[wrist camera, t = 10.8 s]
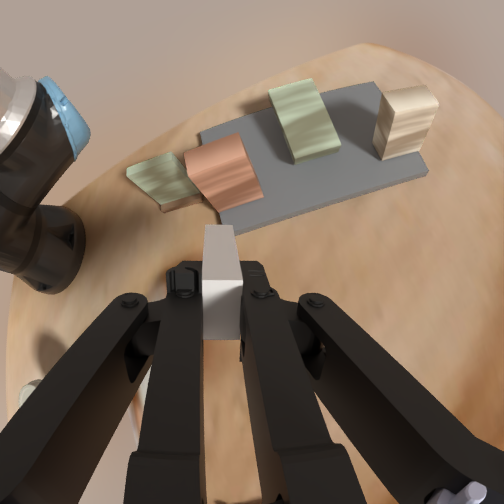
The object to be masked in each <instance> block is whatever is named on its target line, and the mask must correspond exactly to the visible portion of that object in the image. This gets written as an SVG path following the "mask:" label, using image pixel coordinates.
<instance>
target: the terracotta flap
mask: <svg viewBox="0 0 504 504" xmlns="http://www.w3.org/2000/svg"><path fill="white" fill-rule="evenodd" d="M184 158H185V163H186V168H187V174H188V177H189V178H190V179H191V180H192V182H193V183H194V184H195V185H196V186H197V187H198V189H199V190H200V191H201V192H202V193H203V195H204V196H205V197H206V198H207V199H208V201H209V202H210V203H211V204H212V205H213V207H214V208H215V209H216V210H217V211H218V213H219V212H222V211H225V210H228V209H231V208H234V207H236V206H239V205H242V204H245V203H248V202H251V201H254V200H257V199H260V198H263V197H264V196H263V192H262V189H261V186H260V183H259V180H258V177H257V175H256V172H255V170H254V168H253V165H252V163H251V160H250V158H249V156H248V153H247V151H246V149H245V146H244V144H243V142H242V139H241V137H240V135H239V132H237V133H234V134H232V135H229V136H226V137H223V138H221V139H218V140H215V141H213V142H210V143H207V144H205V145H202V146H200V147H197V148H194V149H192V150H189V151H187V152H184Z"/></svg>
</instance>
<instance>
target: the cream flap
mask: <svg viewBox="0 0 504 504" xmlns="http://www.w3.org/2000/svg"><path fill="white" fill-rule="evenodd" d="M438 106H439V102H438V101H437V100H436V98H435V97H434V96H433V94H432V93H431V92H430V90H429V89H428V88H427V86H426V85H421V86H415V87H409V88H403V89H397V90H392V91H387V92H382V95H381V100H380V106H379V111H378V116H377V121H376V126H375V131H374V136H373V141H372V143H373V145H374V147H375V149H376V151H377V153H378V155H379V157H380V158H381V160H382V161H383V160H387V159H390V158H394V157H398V156H401V155H405V154H409V153H413V152H416V151H419V150H420V148H421V146H422V144H423V141H424V139H425V137H426V135H427V132H428V130H429V128H430V125H431V123H432V121H433V118H434V116H435V113H436V111H437V109H438Z"/></svg>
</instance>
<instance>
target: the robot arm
mask: <svg viewBox="0 0 504 504" xmlns="http://www.w3.org/2000/svg"><path fill="white" fill-rule="evenodd" d="M89 139H90V129H89V127H88V125H87V124H86V122H85V121H84V119H83V118H82V117H81V115H80V114H79V113H78V111H77V110H76V109H75V107H74V106H73V105H72V103H71V102H70V101H69V100H68V99H67V97H66V96H65V95H64V94H63V92H62V91H61V90H60V88H59V87H58V86H57V85H56V83H55V82H54V81H53V80H52V79H51V78H50V77H48V76H45V77H44V78H42V79H40V80H39V81H38V82H36V81H35V80H34V79H33V78H32V77H30V76H23V77H19V78H16V79H13V78H12V77H11V76H10V75H9V74H7V73H6V72H5V71H4V70H3V69H2V68H0V270H1V271H5V272H8V273H11V274H14V275H16V276H17V277H19V278H20V279H21V280H22V281H24V282H25V283H26V284H28V285H29V286H30V287H31V288H33V289H34V290H36V291H38V292H41V293H45V294H57V293H59V292H61V291H63V290H64V289H65V288H67V287H68V286H69V284H70V283H71V282H72V281H73V279H74V278H75V276H76V274H77V272H78V270H79V268H80V265H81V263H82V259H83V255H84V250H85V231H84V226H83V223H82V221H81V219H80V217H79V216H78V215H77V214H76V213H74V212H73V211H71V210H69V209H67V208H65V207H62V206H52V205H39V204H40V203H41V201H42V200H43V199H44V197H45V196H46V195H47V193H48V192H49V191H50V190H51V188H52V187H53V186H54V184H55V183H56V182H57V181H58V180H59V178H60V177H61V176H62V175H63V174H64V172H65V171H66V170H67V169H68V168H69V166H70V165H71V164H72V163H73V162H74V161H76V159H77V156H78V155H79V153H80V152H81V151H82V150H83V148H84V147H85V146H86V145H87V144H88V142H89ZM166 282H167V296H166V298H164V299H162V300H160V301H155V302H149V303H148V301H147V298H146V297H145V296H144V295H142V294H138V293H125V294H122V295H120V296H118V297H116V298H115V299H114V300H113V301H112V302H111V303H110V304H109V305H108V306H107V307H106V308H105V309H104V311H103V312H102V313H101V314H100V315H99V316H98V317H97V318H96V319H95V320H94V321H93V322H92V324H91V325H90V326H89V327H88V328H87V329H86V330H85V331H84V332H83V333H82V335H81V336H80V337H79V338H78V339H77V340H76V341H75V342H74V344H73V345H72V346H71V347H70V348H69V349H68V350H67V352H66V353H65V354H64V355H63V356H62V357H61V358H60V360H59V361H58V362H57V363H56V364H55V365H54V367H53V368H52V369H51V370H50V371H49V373H48V374H47V375H46V376H45V377H44V379H43V380H42V381H41V382H40V383H39V385H38V386H37V387H36V388H35V389H34V391H33V392H32V393H31V394H30V396H29V397H28V398H27V399H26V401H25V402H24V403H23V404H22V406H21V407H20V408H19V409H18V411H17V412H16V413H15V415H14V416H13V417H12V418H11V420H10V421H9V422H8V424H7V425H6V426H5V428H4V429H3V430H2V432H1V433H0V504H78V502H79V500H80V498H81V496H82V494H83V492H84V490H85V488H86V486H87V484H88V482H89V480H90V479H91V477H92V475H93V473H94V471H95V468H96V467H97V465H98V463H99V461H100V459H101V457H102V455H103V453H104V451H105V449H106V448H107V446H108V444H109V442H110V440H111V438H112V436H113V434H114V432H115V430H116V429H117V427H118V425H119V423H120V421H121V419H122V417H123V415H124V414H125V412H126V410H127V408H128V406H129V404H130V403H131V401H132V399H133V397H134V395H135V393H136V392H137V390H138V388H139V386H140V384H141V383H142V381H143V379H144V377H145V375H146V374H147V372H148V370H149V368H150V366H151V365H152V366H151V371H150V377H149V382H148V388H147V394H146V399H145V405H144V411H143V418H142V424H141V431H140V438H139V445H138V449H137V451H135V452H132V453H131V455H130V458H129V463H128V469H127V476H126V485H125V493H124V502H123V504H207V496H206V476H205V449H204V401H203V340H240V334H241V343H240V361H239V362H242V364H243V371H244V379H245V386H246V393H247V400H248V407H249V414H250V421H251V428H252V434H253V441H254V448H255V454H256V461H257V467H258V473H259V480H260V486H261V493H262V504H367V502H366V500H365V497H364V494H363V492H362V489H361V486H360V484H359V481H358V478H357V476H356V473H355V470H354V468H353V465H352V463H351V460H350V457H349V455H348V453H347V451H346V449H345V447H344V446H343V445H342V444H336V443H334V442H332V440H331V438H330V435H329V432H328V429H327V427H326V424H325V421H324V418H323V415H322V413H321V410H320V407H319V404H318V401H317V399H316V396H315V393H316V395H317V396H318V397H319V399H320V400H321V401H322V403H323V404H324V406H325V407H326V408H327V410H328V411H329V412H330V414H331V415H332V417H333V418H334V419H335V421H336V422H337V423H338V425H339V426H340V427H341V429H342V430H343V432H344V433H345V434H346V436H347V437H348V438H349V440H350V441H351V442H352V444H353V445H354V446H355V448H356V449H357V450H358V452H359V453H360V454H361V456H362V457H363V458H364V460H365V461H366V462H367V464H368V465H369V466H370V468H371V469H372V470H373V471H374V473H375V474H376V475H377V477H378V478H379V479H380V481H381V482H382V483H383V485H384V486H385V487H386V488H387V490H388V491H389V492H390V494H391V495H392V496H393V497H394V498H395V499H396V500H397V502H398V503H399V504H504V451H502V450H500V449H498V448H496V447H494V446H492V445H490V444H488V443H486V442H484V441H482V440H480V439H478V438H476V437H475V436H474V435H473V434H472V433H471V432H470V431H469V430H468V429H467V428H466V427H465V426H464V425H463V424H462V423H461V422H460V421H459V420H458V419H457V418H456V417H455V416H454V415H453V414H451V413H450V412H449V411H448V410H447V409H446V408H445V407H444V406H443V405H442V404H441V403H440V402H439V401H438V400H437V399H436V398H435V397H434V396H433V395H432V394H431V393H430V392H429V391H428V390H427V389H426V388H425V387H424V386H423V385H421V384H420V383H419V382H418V381H417V380H416V379H415V378H414V377H413V376H412V375H411V374H410V373H409V372H408V371H407V370H406V369H405V368H404V367H403V366H402V365H400V364H399V363H398V362H397V361H396V360H395V359H394V358H393V357H392V356H391V355H390V354H389V353H388V352H387V351H386V350H385V349H384V348H382V347H381V346H380V345H379V344H378V343H377V342H376V341H375V340H374V339H373V338H372V337H371V336H370V335H369V334H368V333H366V332H365V331H364V330H363V329H362V328H361V327H360V326H359V325H358V324H357V323H356V322H355V321H354V320H353V319H351V318H350V317H349V316H348V315H347V314H346V313H345V312H344V311H343V310H342V309H341V308H340V307H338V306H337V305H336V304H335V303H334V302H333V301H332V300H331V299H330V298H328V297H327V296H324V295H321V294H319V293H307V294H303V295H302V296H300V297H299V301H298V303H296V302H290V301H286V300H282V299H280V297H279V295H278V293H277V291H276V290H275V289H273V288H271V287H270V285H269V282H268V279H267V276H266V273H265V270H264V267H263V265H261V264H260V263H259V262H258V261H239V257H238V251H237V246H236V241H235V236H234V230H233V225H205V236H204V250H203V261H182V262H181V263H179V264H178V265H177V266H176V267H172V268H171V269H169V270H168V271H167V272H166ZM314 392H315V393H314Z"/></svg>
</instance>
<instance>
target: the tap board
mask: <svg viewBox="0 0 504 504" xmlns="http://www.w3.org/2000/svg"><path fill="white" fill-rule="evenodd" d="M381 95H382V93H381V91H380V90H379V88H378V87H377V86H376V84H375V83H374V81H373V82H368V83H363V84H358V85H354V86H349V87H344V88H340V89H336V90H332V91H328V92H324V93H320V96H321V99H322V101H323V103H324V105H325V107H326V110H327V112H328V114H329V116H330V119H331V121H332V123H333V126H334V128H335V130H336V133H337V135H338V138H339V140H340V142H341V147H340V149H339V151H338V152H337V153H333V154H330V155H326V156H323V157H320V158H316V159H313V160H310V161H306V162H303V163H300V164H297V165H294V162H293V159H292V156H291V154H290V151H289V148H288V146H287V143H286V140H285V138H284V135H283V133H282V130H281V128H280V125H279V122H278V120H277V117H276V115H275V112H274V110H273V107H270V108H267V109H264V110H261V111H258V112H255V113H252V114H249V115H246V116H243V117H240V118H237V119H234V120H231V121H229V122H226V123H223V124H220V125H218V126H215V127H212V128H210V129H207V130H204V131H202V132H200V135H201V139H202V144H203V145H205V144H207V143H210V142H213V141H215V140H218V139H221V138H223V137H226V136H229V135H232V134H234V133H237V132H239V135H240V137H241V139H242V142H243V144H244V146H245V149H246V151H247V153H248V156H249V158H250V160H251V163H252V165H253V168H254V170H255V172H256V175H257V177H258V180H259V183H260V186H261V189H262V192H263V196H264V197H263V198H260V199H257V200H254V201H251V202H248V203H245V204H242V205H239V206H236V207H234V208H231V209H228V210H225V211H222V212H219V214H220V218H221V222H222V225H233V230H234V236H237V235H240V234H243V233H246V232H249V231H252V230H255V229H258V228H261V227H264V226H267V225H270V224H273V223H276V222H279V221H282V220H285V219H289V218H292V217H295V216H298V215H301V214H304V213H307V212H310V211H313V210H317V209H320V208H323V207H326V206H329V205H332V204H335V203H339V202H342V201H345V200H348V199H351V198H355V197H358V196H361V195H364V194H367V193H371V192H374V191H377V190H380V189H384V188H387V187H390V186H393V185H397V184H400V183H403V182H407V181H410V180H413V179H417V178H420V177H423V176H426V175H427V173H428V171H429V170H428V168H427V166H426V164H425V162H424V160H423V159H422V157H421V155H420V153H419V151H416V152H413V153H409V154H405V155H401V156H398V157H394V158H390V159H387V160H383V161H382V160H381V158H380V157H379V155H378V153H377V151H376V149H375V147H374V145H373V143H372V141H373V136H374V131H375V126H376V121H377V116H378V111H379V106H380V100H381Z"/></svg>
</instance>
